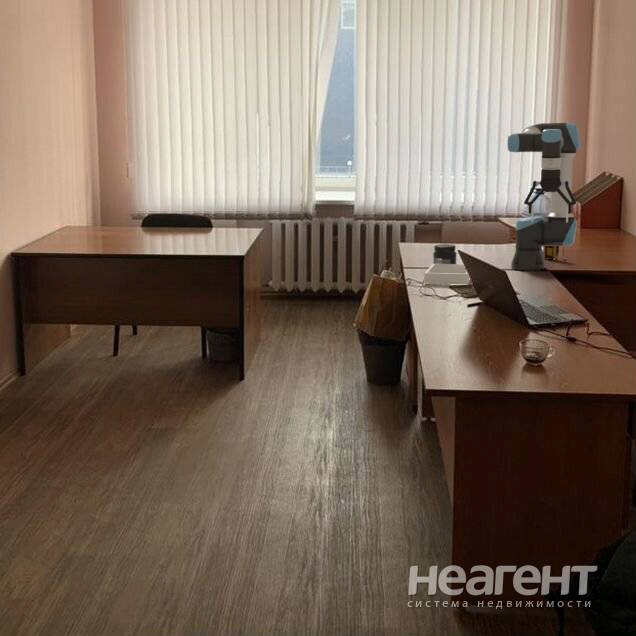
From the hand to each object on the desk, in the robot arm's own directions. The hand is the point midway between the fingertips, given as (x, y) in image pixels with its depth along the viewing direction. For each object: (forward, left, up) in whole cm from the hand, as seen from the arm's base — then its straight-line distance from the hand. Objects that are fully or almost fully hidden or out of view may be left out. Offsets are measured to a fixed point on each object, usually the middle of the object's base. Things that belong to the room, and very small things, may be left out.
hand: (549, 222), depth 406 cm
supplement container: (-33, -47, -28) cm, 64 cm away
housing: (-13, -42, -27) cm, 52 cm away
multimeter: (-75, 0, -28) cm, 80 cm away
